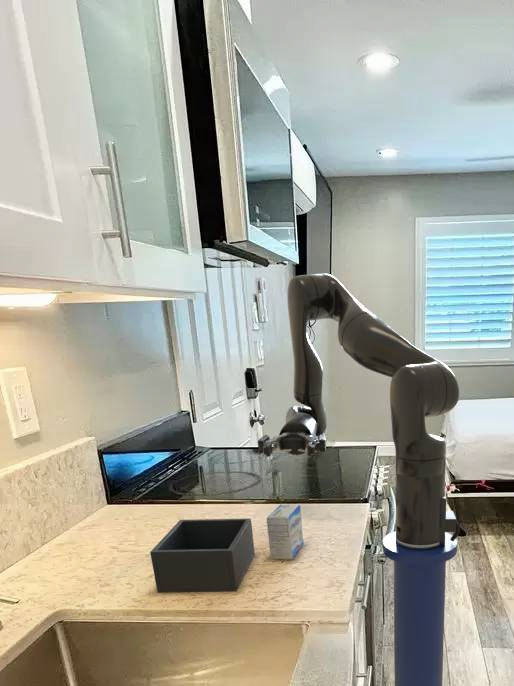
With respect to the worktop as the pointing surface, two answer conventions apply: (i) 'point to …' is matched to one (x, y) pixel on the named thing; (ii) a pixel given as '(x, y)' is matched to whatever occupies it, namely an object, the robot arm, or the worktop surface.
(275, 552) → the medicine box
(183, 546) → the storage bin
